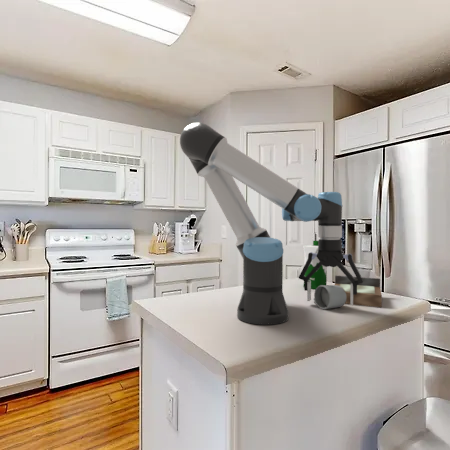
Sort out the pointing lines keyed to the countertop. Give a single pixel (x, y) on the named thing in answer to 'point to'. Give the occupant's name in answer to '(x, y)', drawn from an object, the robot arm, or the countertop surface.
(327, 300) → the ceramic mug
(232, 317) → the countertop surface
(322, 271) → the milk carton
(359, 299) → the step
